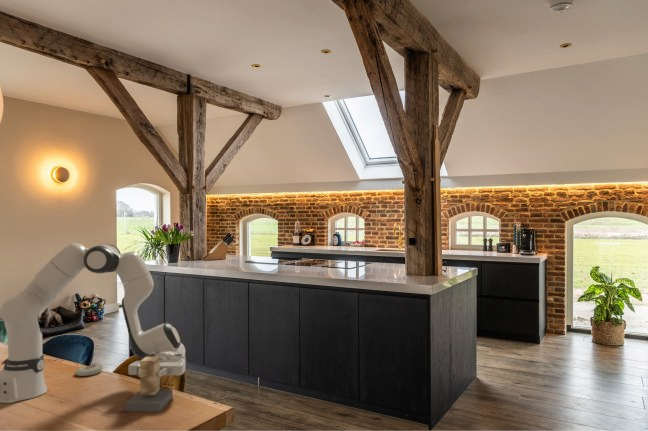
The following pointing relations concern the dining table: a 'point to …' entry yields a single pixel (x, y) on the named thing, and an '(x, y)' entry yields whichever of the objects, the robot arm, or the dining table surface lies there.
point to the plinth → (149, 401)
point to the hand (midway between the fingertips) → (149, 374)
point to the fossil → (89, 370)
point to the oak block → (149, 375)
